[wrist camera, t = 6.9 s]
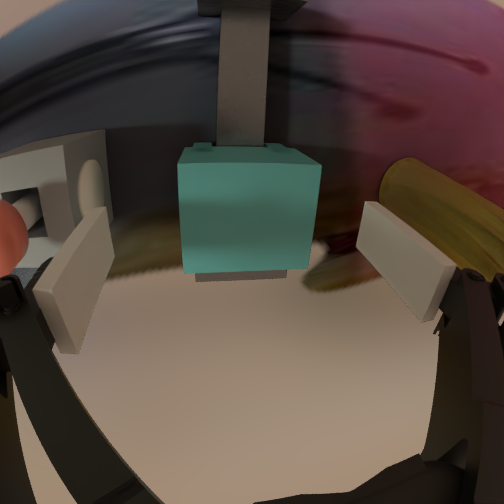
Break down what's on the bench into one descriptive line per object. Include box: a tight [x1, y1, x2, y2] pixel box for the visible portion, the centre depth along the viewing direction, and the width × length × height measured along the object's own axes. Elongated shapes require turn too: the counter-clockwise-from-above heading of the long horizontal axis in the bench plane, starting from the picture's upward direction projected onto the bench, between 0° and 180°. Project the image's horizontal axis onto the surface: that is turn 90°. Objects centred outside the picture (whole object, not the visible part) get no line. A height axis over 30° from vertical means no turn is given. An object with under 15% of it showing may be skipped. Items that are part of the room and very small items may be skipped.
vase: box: [379, 158, 504, 282], centre depth 17 cm, size 6×6×14 cm
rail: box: [195, 0, 308, 282], centre depth 17 cm, size 19×6×5 cm, turn 177°
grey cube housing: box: [0, 129, 114, 268], centre depth 16 cm, size 7×7×7 cm
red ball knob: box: [0, 192, 43, 277], centre depth 12 cm, size 4×4×5 cm
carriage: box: [177, 142, 322, 273], centre depth 18 cm, size 6×7×7 cm
